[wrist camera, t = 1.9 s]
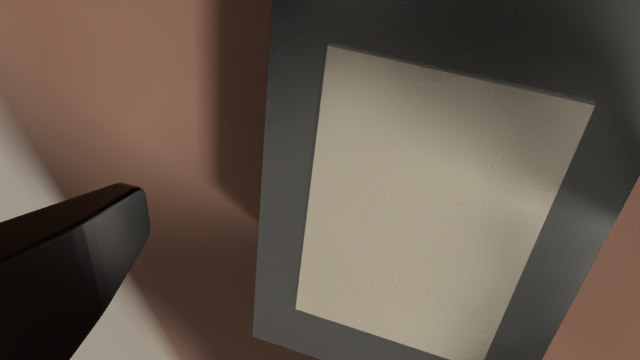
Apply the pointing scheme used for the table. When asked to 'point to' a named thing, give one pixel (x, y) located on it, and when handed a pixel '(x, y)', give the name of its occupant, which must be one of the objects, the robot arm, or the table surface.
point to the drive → (440, 172)
